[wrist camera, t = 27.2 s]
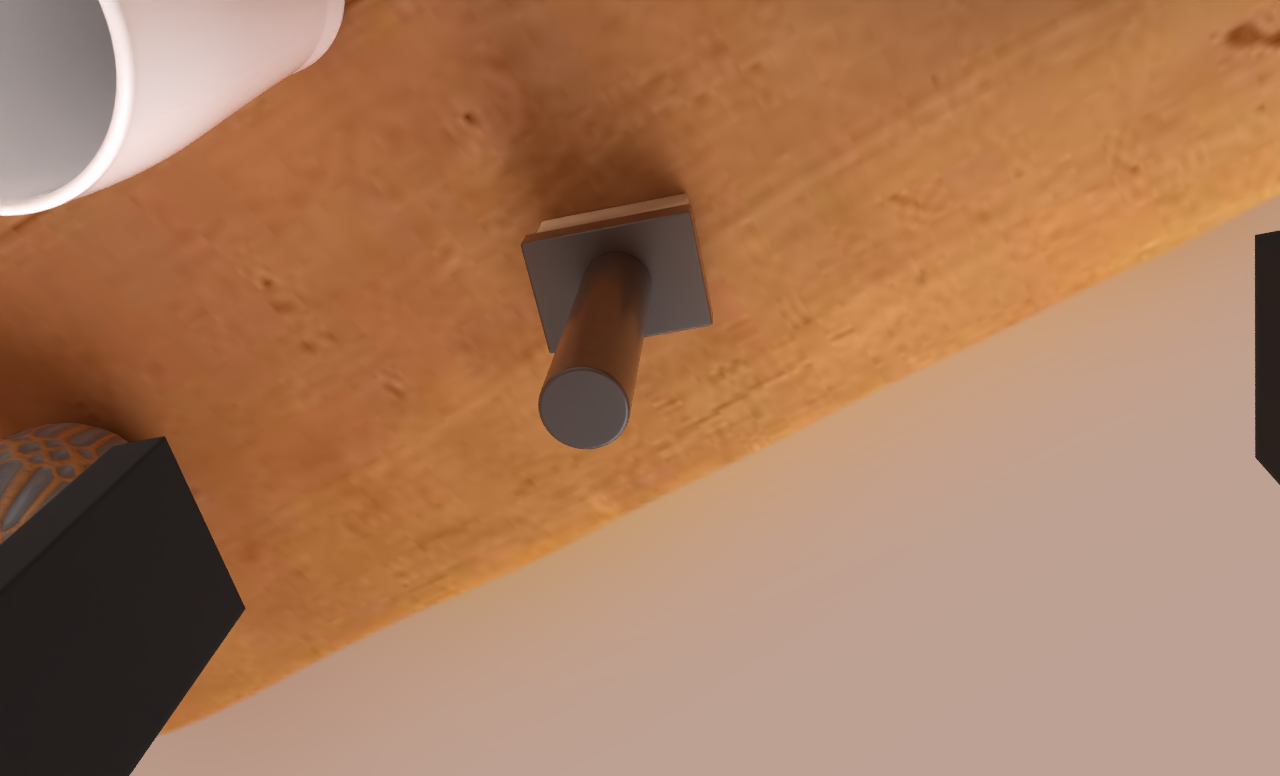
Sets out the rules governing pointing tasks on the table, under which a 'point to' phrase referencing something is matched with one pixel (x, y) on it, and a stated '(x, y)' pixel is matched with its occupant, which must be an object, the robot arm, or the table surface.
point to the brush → (610, 307)
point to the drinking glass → (134, 83)
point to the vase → (44, 467)
